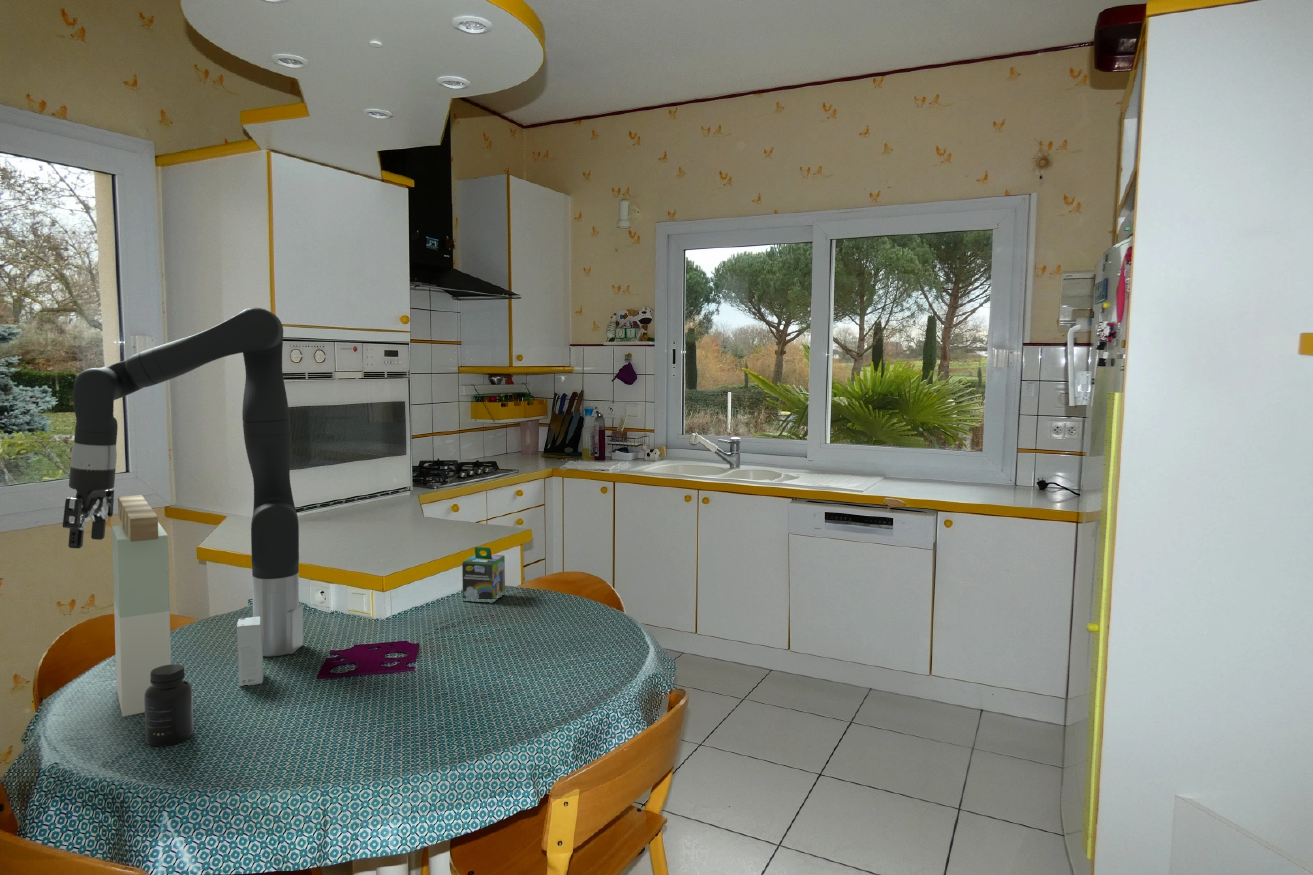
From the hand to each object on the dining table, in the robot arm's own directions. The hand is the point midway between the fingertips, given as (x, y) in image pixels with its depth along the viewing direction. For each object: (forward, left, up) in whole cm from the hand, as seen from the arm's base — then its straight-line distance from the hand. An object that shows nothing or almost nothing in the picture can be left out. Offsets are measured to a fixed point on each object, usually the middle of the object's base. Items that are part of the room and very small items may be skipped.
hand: (86, 543), depth 159 cm
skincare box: (-36, +7, -26) cm, 45 cm away
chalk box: (-73, -51, -26) cm, 92 cm away
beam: (-18, +13, +6) cm, 23 cm away
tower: (-20, +16, -26) cm, 37 cm away
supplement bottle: (-34, +32, -26) cm, 53 cm away
